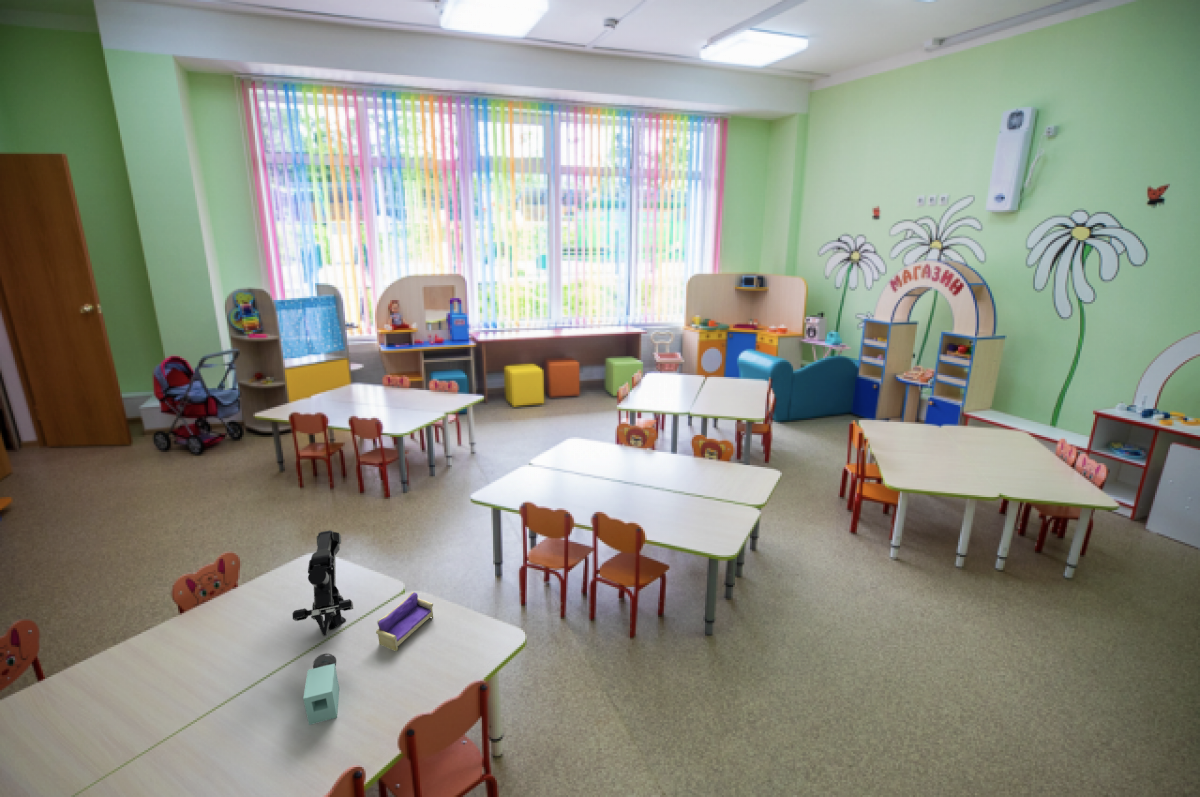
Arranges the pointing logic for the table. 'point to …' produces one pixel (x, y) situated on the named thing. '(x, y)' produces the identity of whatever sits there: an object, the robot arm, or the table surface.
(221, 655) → the table surface
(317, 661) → the plunger
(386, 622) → the toy sofa
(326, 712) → the block
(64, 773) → the table surface
